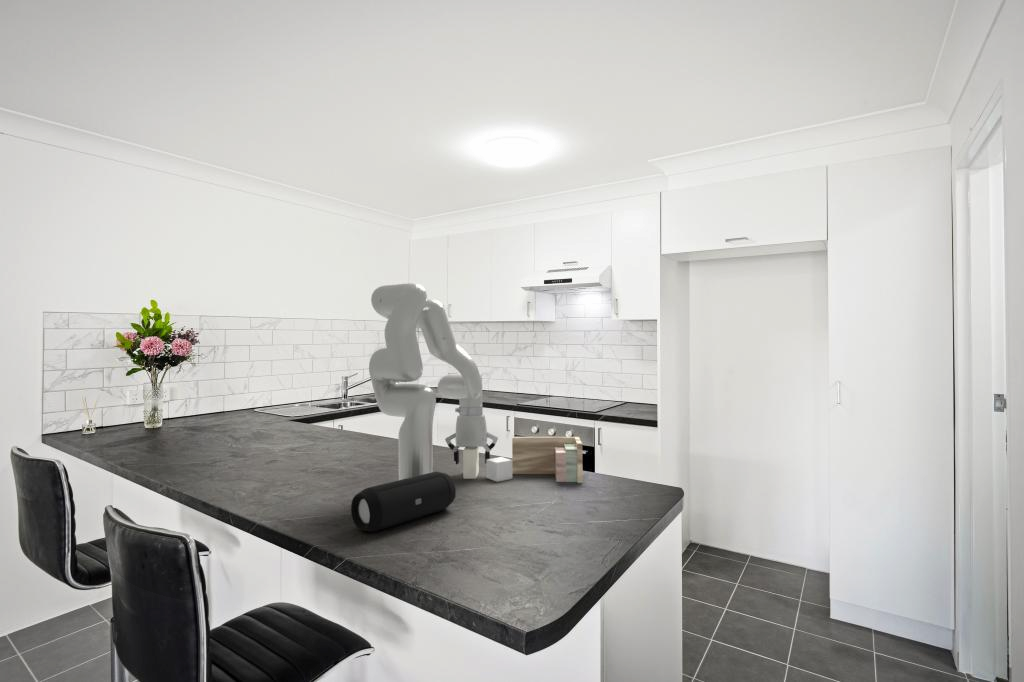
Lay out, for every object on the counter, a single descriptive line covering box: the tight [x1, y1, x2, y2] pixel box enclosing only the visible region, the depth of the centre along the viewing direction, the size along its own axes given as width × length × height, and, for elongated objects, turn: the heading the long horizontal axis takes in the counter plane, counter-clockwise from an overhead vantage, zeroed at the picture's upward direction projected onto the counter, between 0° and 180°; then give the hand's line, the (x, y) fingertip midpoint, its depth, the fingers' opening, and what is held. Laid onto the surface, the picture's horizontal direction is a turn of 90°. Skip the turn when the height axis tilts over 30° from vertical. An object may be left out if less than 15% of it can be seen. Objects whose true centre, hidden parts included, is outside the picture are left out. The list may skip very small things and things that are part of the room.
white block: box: [462, 447, 480, 480], centre depth 174 cm, size 9×4×9 cm, turn 178°
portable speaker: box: [350, 471, 457, 533], centre depth 130 cm, size 26×10×10 cm, turn 138°
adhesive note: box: [485, 456, 513, 483], centre depth 170 cm, size 6×6×6 cm
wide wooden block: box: [511, 436, 584, 484], centre depth 170 cm, size 12×22×12 cm, turn 88°
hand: (472, 463), depth 174 cm, fingers open, 9 cm apart
